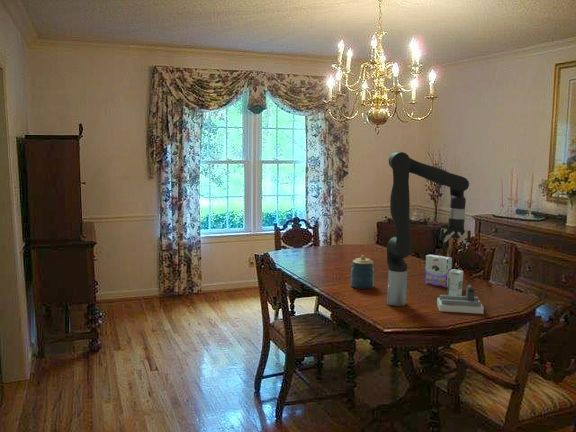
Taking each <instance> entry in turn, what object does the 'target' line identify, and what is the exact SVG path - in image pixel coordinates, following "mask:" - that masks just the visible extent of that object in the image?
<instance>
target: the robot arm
mask: <svg viewBox="0 0 576 432" xmlns="http://www.w3.org/2000/svg"><path fill="white" fill-rule="evenodd" d="M388 165H389V167H390V169H392V178H393V179H392V180H393V181H392V183H393V184H392V187H391V192H390V197H389V198H390V200H389V201H390V202H389V203H390V204H389V209H390V216H391V219H392V222H393V224H394V226H395V232H396V233H395V234H396V236H393V237H391V238H390V239H389V240H388V241H387V246H386V264H387V266H388V267H387V268H388V275H387V293H386V295H387V296H386V304H387V305H389V306H394V307H403V306H406V304H407V290H408V289H407V288H408V287H407V286H408V285H407V284H408V264H407V263H406V261H405V259H406V258H408V257H409V255H410V254H411V252H412V239H411V230H410V229H411V225H410V224H411V222H410V221H411V219H410V218H411V217H410V210H411V209H410V207H411V206H410V204H411V203H410V202H411V201H410V179H409V178H410V174H414V175H417V176H418V177H421V178H423V179H425V180H428V181H430V182H432V183H434V184H438V185H442V186H445V187H448V188H449V192H450V194H449V195H450V201H449V202H450V203H449V211H448V220H447V222H448V223H447V228H443V227H442V228H441V229H440V233H439V240H440V241H441V242H442V248H443V250H444V251H446V250H447V242H448V240H450V239H457V240H458V239H460V240H461V242H462V248H461V251H463V252H465V251H466V250H467V244H469V243H471V238H472V237H471V233H472V232H471V230H470V229H467V230H465V220H466V201H467V199H466V197H465V191H467V190H468V189H469V187H470V183H469V180H468V179H467V178H466V177H464V176H461V175H458V174H455V173H451V172H449V171H447V170H445V169H442V168H439V167H436V166H434V165H430V164H426V163H422V162H421V161H418V160H415V159H412V158H411V157H410V155H408V154H407V153H406V152H404V151H395V152H393V153H391V154H390V156H389V157H388ZM445 233H447V235H446V236H445V237H444V234H445ZM464 234H466V236H467V237H466V239H465V238H464V236H463V235H464Z"/></svg>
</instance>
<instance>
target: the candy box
mask: <svg viewBox="0 0 576 432" xmlns="http://www.w3.org/2000/svg"><path fill="white" fill-rule="evenodd" d="M424 258H425V259H424V261H425V262H424V263H425V264H424V282H423V283H424V284H426V285H432V286H437V287H442V288H448V276H449V271H451V270H453V268H452V266H453V257H450V256H443V255H436V254H431V253H430V254H426V255H425V257H424Z"/></svg>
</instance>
